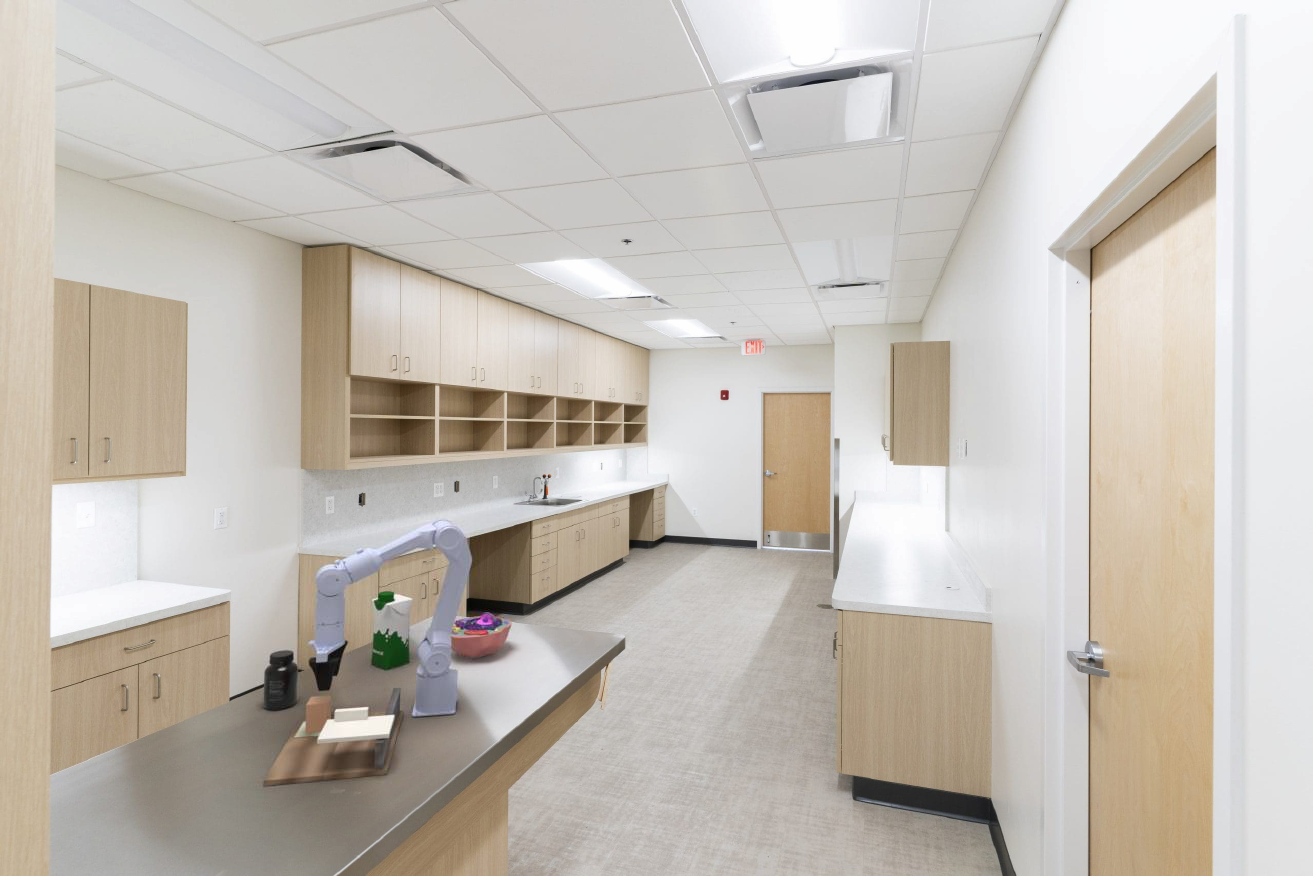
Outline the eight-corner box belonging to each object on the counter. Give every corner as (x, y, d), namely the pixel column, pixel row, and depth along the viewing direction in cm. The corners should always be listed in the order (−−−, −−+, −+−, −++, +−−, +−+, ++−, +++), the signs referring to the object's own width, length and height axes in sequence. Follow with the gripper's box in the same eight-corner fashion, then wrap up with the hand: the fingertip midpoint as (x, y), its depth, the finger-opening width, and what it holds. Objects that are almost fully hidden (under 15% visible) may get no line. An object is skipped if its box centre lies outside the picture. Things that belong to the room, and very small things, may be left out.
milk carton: (366, 664, 173) (368, 592, 173) (395, 655, 181) (397, 585, 180) (385, 672, 168) (388, 598, 168) (414, 662, 176) (417, 591, 175)
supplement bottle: (304, 701, 150) (305, 651, 150) (278, 713, 143) (280, 661, 143) (282, 696, 152) (283, 646, 152) (256, 707, 146) (257, 656, 145)
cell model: (429, 656, 181) (431, 617, 181) (485, 638, 197) (486, 602, 197) (468, 671, 171) (469, 630, 171) (523, 651, 188) (524, 613, 187)
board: (403, 714, 145) (404, 687, 145) (386, 774, 121) (387, 742, 121) (301, 722, 140) (302, 693, 140) (263, 786, 116) (264, 752, 116)
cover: (394, 718, 130) (394, 705, 130) (388, 738, 122) (389, 723, 122) (327, 723, 127) (327, 709, 126) (317, 743, 119) (317, 729, 119)
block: (330, 722, 138) (331, 695, 138) (326, 731, 134) (327, 703, 134) (310, 724, 137) (311, 696, 137) (305, 733, 133) (306, 705, 133)
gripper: (317, 611, 143) (316, 671, 144) (300, 633, 130) (298, 698, 130) (351, 610, 145) (350, 668, 146) (338, 631, 131) (336, 695, 132)
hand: (328, 682), depth 138 cm, fingers open, 7 cm apart
